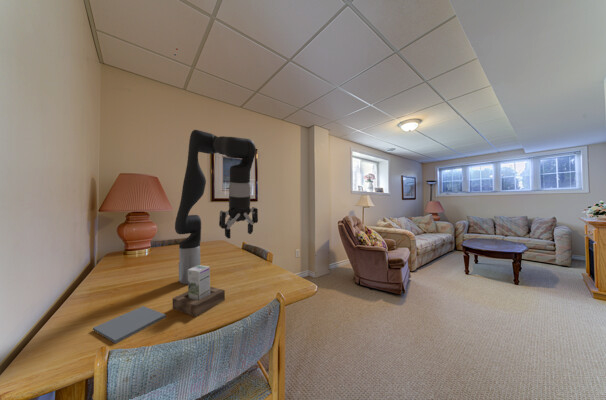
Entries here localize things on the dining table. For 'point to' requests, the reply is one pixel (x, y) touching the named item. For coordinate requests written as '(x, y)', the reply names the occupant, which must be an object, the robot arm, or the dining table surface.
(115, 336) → the mat
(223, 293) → the socket block
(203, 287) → the syrup box
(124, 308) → the dining table surface
